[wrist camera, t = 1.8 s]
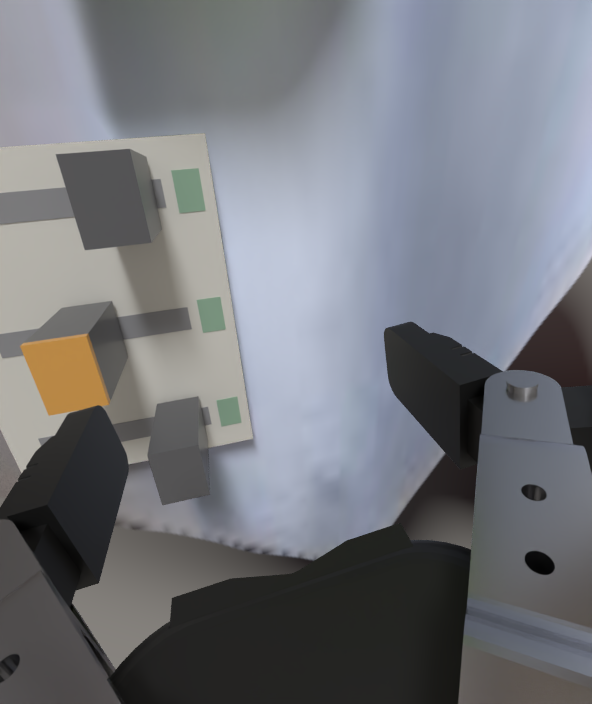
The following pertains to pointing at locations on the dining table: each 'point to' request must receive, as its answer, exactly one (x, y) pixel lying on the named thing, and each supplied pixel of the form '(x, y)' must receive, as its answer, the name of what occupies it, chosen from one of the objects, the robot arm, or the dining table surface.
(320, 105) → the dining table surface
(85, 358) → the block
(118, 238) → the block
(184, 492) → the block
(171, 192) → the breaker panel
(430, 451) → the dining table surface
